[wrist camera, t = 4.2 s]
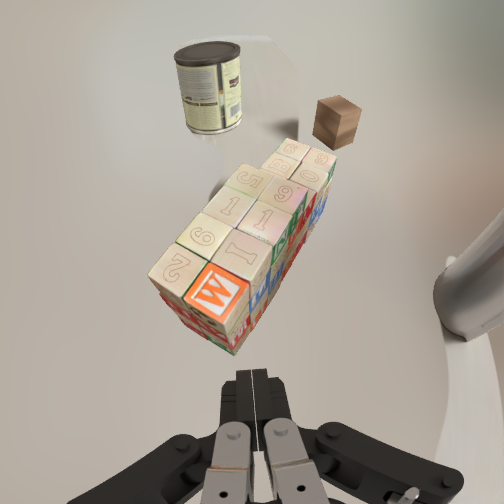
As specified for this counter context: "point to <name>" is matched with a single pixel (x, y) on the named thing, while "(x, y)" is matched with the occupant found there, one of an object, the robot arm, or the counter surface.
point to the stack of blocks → (244, 244)
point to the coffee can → (210, 86)
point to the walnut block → (336, 122)
